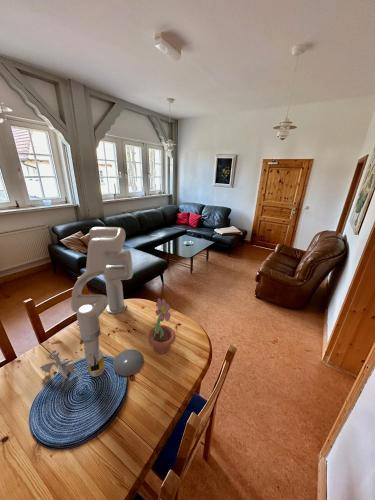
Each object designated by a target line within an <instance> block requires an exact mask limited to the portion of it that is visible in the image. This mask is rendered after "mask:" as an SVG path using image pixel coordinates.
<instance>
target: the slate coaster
mask: <svg viewBox="0 0 375 500" xmlns="http://www.w3.org/2000/svg"><path fill="white" fill-rule="evenodd" d="M143 364H144V355H143V354H142V352H141V351H139V350H138V349H134V348H129V349H125V350H122V351H120V352H119V353H117V355H116V356H115V357H114V360H113V361H112V368H114V369H113V371H114V372H115V373H116V374H117V375H118V374H119V375H118V376H120V375H122V376H121V377H128V376H132V375H134V374H136V373H137V372H139V370H141V368H142V367H143Z"/></svg>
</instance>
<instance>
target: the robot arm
mask: <svg viewBox="0 0 375 500" xmlns="http://www.w3.org/2000/svg"><path fill="white" fill-rule="evenodd" d="M88 235H89V237H90V238H91V239H90V240H89V241H88V244H87V255H86V265H85V266H86V267H85V271H84V272H83V273H82V274H81V275H80V276H79V278H78V279H77V280H76V282H75V283H74V285H73V288H72V291H71V302H70V303H71V305H70V306H71V310H72V311H73V312H74V313H75V315H76V319H77V325H78V328H79V335H80V339H81V340H82V342H83V347H84V356H85V357H84V358H85V362H87V361H89V359H90V368H91V371H95V370H99V364H98V362H97V358H98V355H99V350H100V339H99V337H100V336H101V333H102V332H101V327H100V326H101V325H100V319H99V318H100V316H101V315H102V313H103V312H104V311H105V310H106V312H107V313H109V314H111V315H112V314H113V315H115V314H120V313H122V312H124V311H125V310H126V308H127V303H126V302H125V301H124V291H123V283H122V281H121V280H123V281H124V280H130V279H132V278H133V275H134V268H133V258H132V253H131V251H130V250H129V249H127V248H126V249H123V247H124V244H125V240H126V231H125V229H124V228H123V227H117V226H94V227H91V228H90V229H89V233H88ZM102 275H103V279H104V281H105V287H106V288H105V289H106V295H105V294H82V292H83V288H84V286H85V285H86V284H87V283H88V282H90V281H91V280H93V279H95V278H96V277H97V278H98V277H99V276H100V277H101V276H102ZM94 359H96V362H94Z"/></svg>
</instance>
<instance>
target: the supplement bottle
mask: <svg viewBox="0 0 375 500" xmlns="http://www.w3.org/2000/svg"><path fill="white" fill-rule="evenodd" d="M94 362H96V359H94ZM97 362H98V364H99V370H95V371H91V368H90V359H89V361H86V364H87V369H88V374H89V375H90V377H94V378H95V377H100V376H101V375H102V374H103V373H104V371H105V361H104V355H103V351H102V350H101V349H99V355H98V358H97Z"/></svg>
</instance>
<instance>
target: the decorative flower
mask: <svg viewBox="0 0 375 500" xmlns="http://www.w3.org/2000/svg"><path fill="white" fill-rule="evenodd" d="M155 306H156V308H157V309H156V310H155V314H156V316H158V317H157V319H156V322H155V321H154V322H153V323H154V327H153V328H151V329H150V330H149V332H148V335H147V339H148V342H149V344H150V345H151V346H152V347H153V350H154V352H155V353H156V354H158V355H159V354H160V355H165V354H166V353H167V352H169V350H170V349H171V345H173V344H174V342H175V340H176V332H175V330H174V329H173V328H172V327H170V326H168V325H163V324H161V322H164V321H165V322H169V321H170V319H171V315H172V314H171V312H170V311H171V306H170V305H169V303H167V301H166V300H165V298H163V299H162V300H161V298H158V299H157V302H156V303H155Z"/></svg>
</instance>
